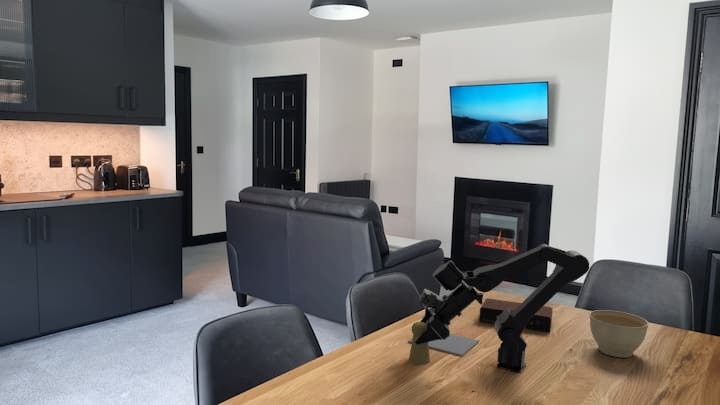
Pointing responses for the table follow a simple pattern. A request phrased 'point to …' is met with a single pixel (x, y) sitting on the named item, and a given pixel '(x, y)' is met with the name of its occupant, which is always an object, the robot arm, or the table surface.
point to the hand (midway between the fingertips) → (415, 337)
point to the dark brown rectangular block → (496, 307)
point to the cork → (421, 351)
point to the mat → (453, 344)
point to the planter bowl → (617, 332)
